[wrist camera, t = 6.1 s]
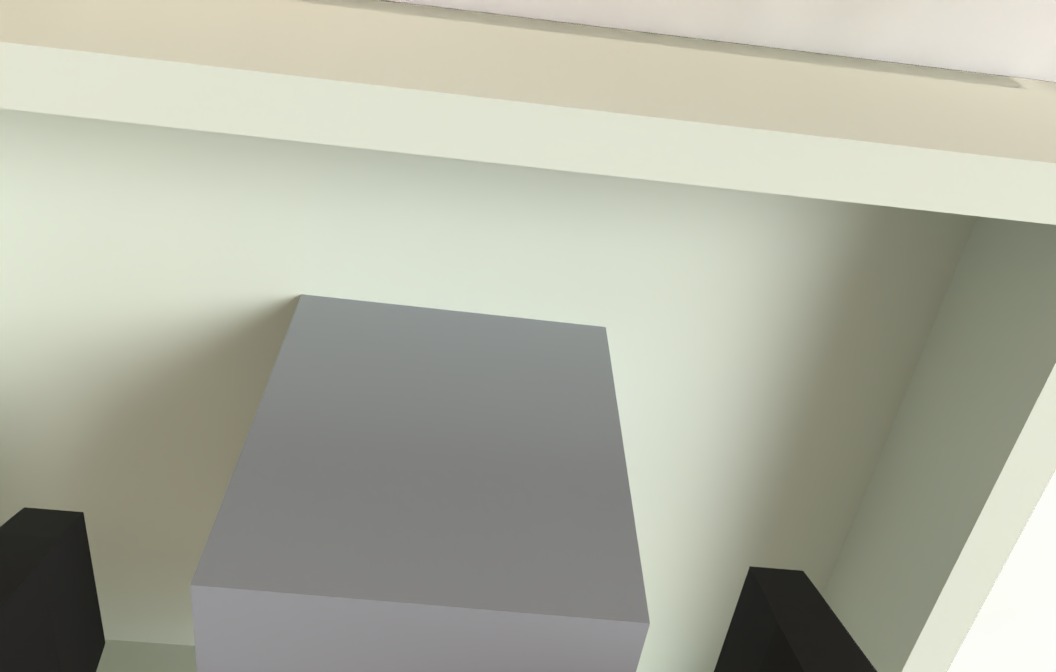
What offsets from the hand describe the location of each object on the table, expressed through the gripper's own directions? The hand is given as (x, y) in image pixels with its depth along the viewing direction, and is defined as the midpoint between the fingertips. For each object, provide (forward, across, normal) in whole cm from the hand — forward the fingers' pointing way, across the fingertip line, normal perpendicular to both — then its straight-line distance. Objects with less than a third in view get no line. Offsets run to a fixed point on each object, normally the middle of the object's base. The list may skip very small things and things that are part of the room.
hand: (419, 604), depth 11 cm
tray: (+4, 0, +6) cm, 7 cm away
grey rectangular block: (+3, 0, 0) cm, 3 cm away
